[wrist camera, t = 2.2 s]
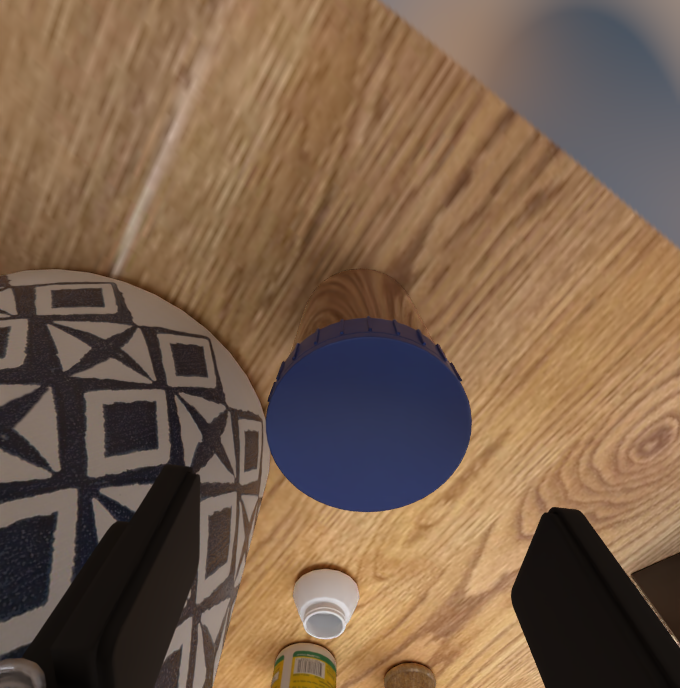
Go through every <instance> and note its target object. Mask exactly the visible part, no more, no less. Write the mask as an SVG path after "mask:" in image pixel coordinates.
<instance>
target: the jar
mask: <svg viewBox="0 0 680 688" xmlns="http://www.w3.org/2000/svg"><path fill="white" fill-rule="evenodd" d="M367 316H370V318H378V319H385V320H390V321H393V319H394V320H396V321H397V322H398V323H401V324H404V325H407V326H409V327H411V328H413V329H415V330H417V329H419V330H420V331H421V333H422V334H423V335H424V336H426V337H427V338H429V339H430V340H431V341H432V342H433V343H434V341H433V340H432V338H431V336H430V334H429V332H428V330H427V328H426V327H425V325H424V323H423V321H422V319H421V317H420V315H419V313H418V312H417V310H416V308H415V306H414V304H413V302H412V300H411V298H410V297H409V295H408V293H407V292H406V291H405V289H404V288H403V287H402V286H401V285H400V284H399V283H398V282H397V281H395V280H394V279H393V278H391V277H390V276H388V275H386V274H384V273H381V272H378V271H375V270H370V269H351V270H345V271H342V272H339V273H337V274H335V275H332V276H331V277H329V278H327V279H326V280H324V281H323V282H322V283H321V284H320V285H319V286H318V287H317V288H316V289H315V290H314V291H313V293H312V294H311V296H310V298H309V300H308V302H307V304H306V307H305V310H304V313H303V316H302V319H301V322H300V325H299V328H298V331H297V334H296V337H295V340H294V343H293V346H292V349H291V352H290V354H291V353H292V351H293V350H294V349H295V347H296V344H297V343H299V344H300V343H301V342H302V341H304V340H305V339H306V338H307V337H309V336H310V335H312V334H313V333H315V332H316V329H318V328H319V329H322V328H324V327H326V326H329V325H331V324H334V323H337V322H340V320H341V319H344V321H345V320H350V319H357V318H367ZM434 344H435V343H434Z"/></svg>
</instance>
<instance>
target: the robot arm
mask: <svg viewBox="0 0 680 688" xmlns="http://www.w3.org/2000/svg"><path fill="white" fill-rule="evenodd" d="M199 558H200V475H199V474H193V469H192V467H189V466H180V465H171V464H167V465H165V466H164V468H163V469H162V471H161V472H160V474H159V475H158V477H157V479H156V480H155V482H154V483H153V485H152V487H151V488H150V490H149V491H148V493H147V495H146V496H145V498H144V499H143V501H142V503H141V504H140V506H139V507H138V509H137V511H136V512H135V514H134V515H133V517H132V519H131V520H130V522H124V521H116V522H115V523H113V524H112V525H111V526H110V528H109V529H108V530H107V532H106V533H105V534H104V536H103V537H102V539H101V540H100V542H99V543H98V545H97V546H96V548H95V549H94V551H93V552H92V554H91V555H90V557H89V558H88V560H87V561H86V563H85V564H84V566H83V567H82V569H81V570H80V572H79V573H78V575H77V576H76V578H75V579H74V580H73V582H72V583H71V585H70V586H69V588H68V589H67V591H66V592H65V594H64V595H63V597H62V598H61V600H60V601H59V603H58V604H57V606H56V607H55V609H54V610H53V612H52V613H51V615H50V616H49V618H48V619H47V621H46V622H45V624H44V625H43V626H42V628H41V629H40V631H39V632H38V634H37V635H36V637H35V638H34V640H33V641H32V643H31V644H30V646H29V647H28V649H27V650H26V652H25V653H24V655H23V656H22V658H15V659H5V660H2V661H0V688H154V686H155V683H156V681H157V678H158V675H159V672H160V670H161V667H162V664H163V662H164V659H165V656H166V654H167V651H168V648H169V646H170V643H171V640H172V638H173V635H174V632H175V630H176V627H177V624H178V622H179V619H180V616H181V613H182V611H183V608H184V605H185V603H186V600H187V597H188V595H189V592H190V589H191V587H192V584H193V581H194V579H195V576H196V573H197V569H198V565H199ZM511 600H512V605H513V608H514V610H515V613H516V615H517V618H518V620H519V623H520V625H521V628H522V630H523V633H524V635H525V638H526V640H527V643H528V645H529V648H530V650H531V653H532V655H533V658H534V660H535V663H536V665H537V668H538V670H539V673H540V675H541V678H542V680H543V683H544V685H545V688H680V648H679V646H678V645H677V644H676V642H675V641H674V639H673V638H672V637H671V635H670V634H669V632H668V631H667V630H666V628H665V627H664V625H663V624H662V623H661V621H660V620H659V619H658V617H657V616H656V614H655V613H654V612H653V610H652V609H651V607H650V606H649V605H648V603H647V602H646V601H645V599H644V598H643V596H642V595H641V594H640V592H639V591H638V589H637V588H636V587H635V585H634V584H633V583H632V581H631V580H630V578H629V577H628V576H627V574H626V573H625V571H624V570H623V569H622V567H621V566H620V564H619V563H618V562H617V560H616V559H615V558H614V556H613V555H612V553H611V552H610V551H609V549H608V548H607V546H606V545H605V544H604V542H603V541H602V540H601V538H600V537H599V535H598V534H597V533H596V531H595V530H594V528H593V527H592V526H591V524H590V523H589V521H588V520H587V519H586V517H585V516H584V515H583V514H582V513H581V511H579V510H576V509H567V508H558V507H552V508H551V509H550V510H549V512H548V513H544V514H543V515H542V517H541V519H540V522H539V524H538V527H537V529H536V531H535V534H534V536H533V539H532V541H531V544H530V546H529V549H528V551H527V553H526V556H525V558H524V561H523V563H522V566H521V568H520V571H519V573H518V575H517V578H516V580H515V583H514V585H513V588H512V591H511Z"/></svg>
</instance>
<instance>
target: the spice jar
mask: <svg viewBox="0 0 680 688" xmlns="http://www.w3.org/2000/svg"><path fill="white" fill-rule="evenodd" d="M384 686H385V688H435V687H436V680H435V677H434V675H433V672H431V670H430V669H428V668H427V667H425V666H423V665H420V664H416V663H405V664H400V665H398V666H396V667H394V668H392V669H391V670H390V671H388V672H387V674H386V675H385V678H384Z"/></svg>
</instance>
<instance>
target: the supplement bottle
mask: <svg viewBox="0 0 680 688" xmlns="http://www.w3.org/2000/svg"><path fill="white" fill-rule="evenodd" d="M271 688H336V661H335V659H334V657H333V656H332V654H331V653H330V652H329V651H328V650H327V649H325V648H323V647H321V646H319V645H316V644H312V643H297V644H293V645H290V646H288V647H286V648H285V649H283V650H282V651H281V652H280V653H279V655H278V656H277V658H276V661H275V665H274V671H273V678H272V684H271Z"/></svg>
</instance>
